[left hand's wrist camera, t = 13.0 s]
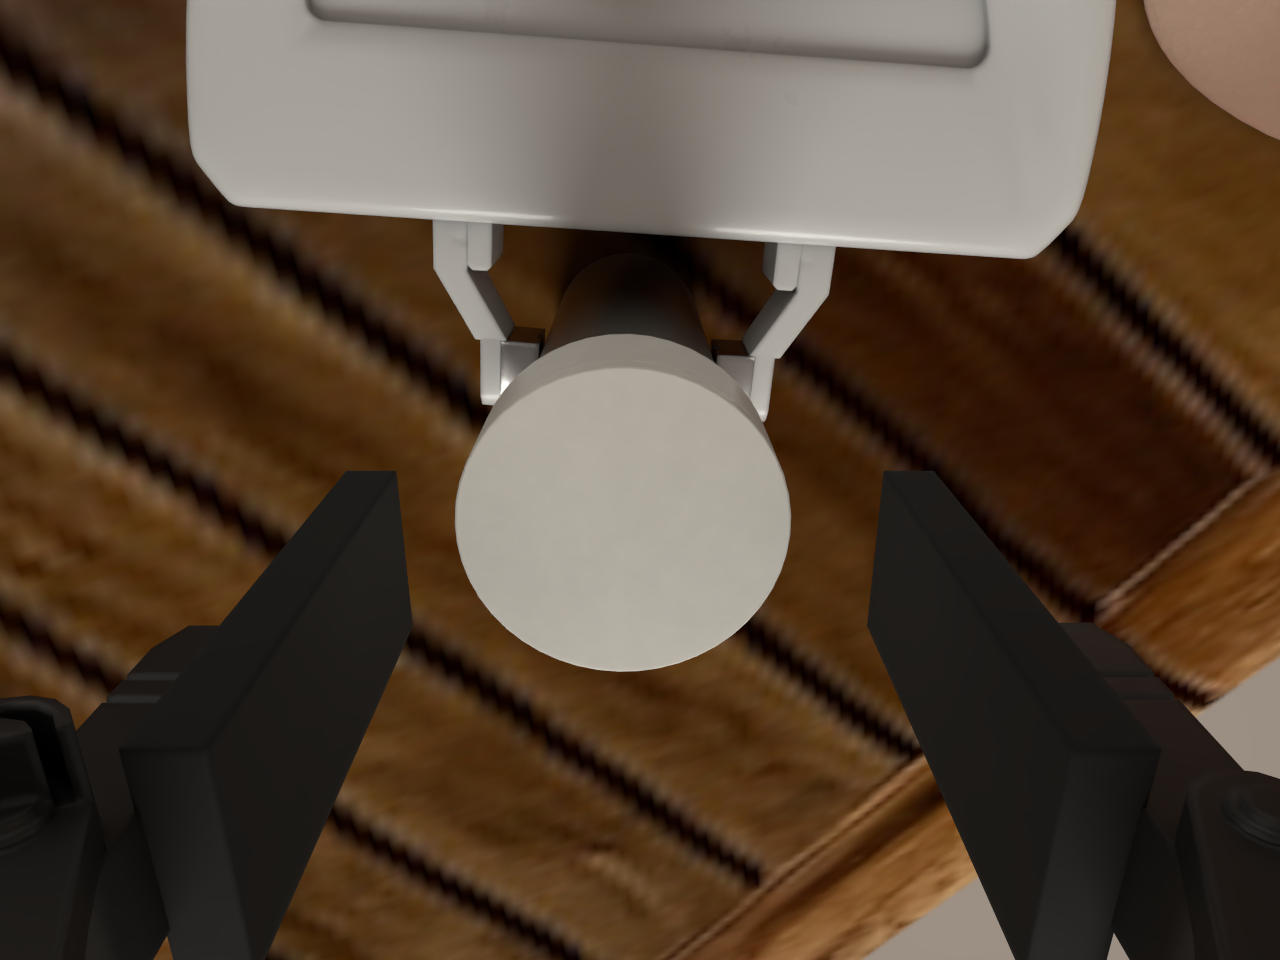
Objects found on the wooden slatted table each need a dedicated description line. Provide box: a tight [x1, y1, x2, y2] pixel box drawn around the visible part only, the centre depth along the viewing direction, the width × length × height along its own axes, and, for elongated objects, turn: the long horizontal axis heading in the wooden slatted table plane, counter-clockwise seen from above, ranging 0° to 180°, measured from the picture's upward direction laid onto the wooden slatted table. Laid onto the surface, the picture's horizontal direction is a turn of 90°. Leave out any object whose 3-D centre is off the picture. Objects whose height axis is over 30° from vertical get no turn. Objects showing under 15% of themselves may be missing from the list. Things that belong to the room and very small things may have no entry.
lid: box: [455, 334, 791, 671], centre depth 16 cm, size 6×6×2 cm
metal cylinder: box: [540, 253, 714, 362], centre depth 22 cm, size 4×4×15 cm
